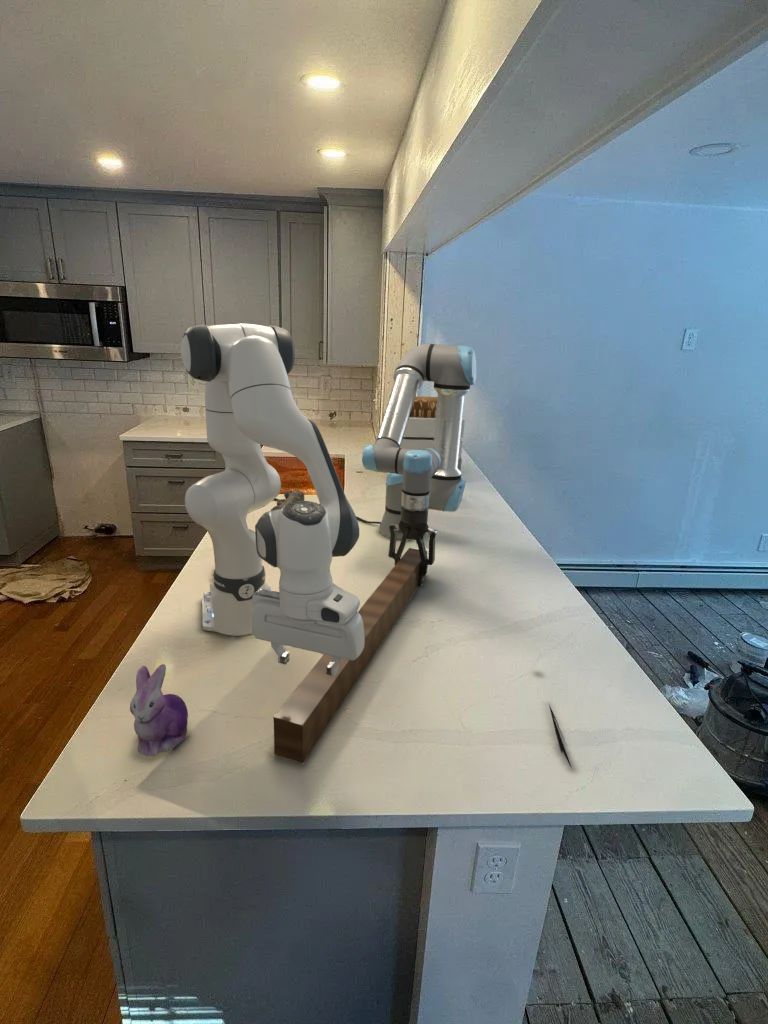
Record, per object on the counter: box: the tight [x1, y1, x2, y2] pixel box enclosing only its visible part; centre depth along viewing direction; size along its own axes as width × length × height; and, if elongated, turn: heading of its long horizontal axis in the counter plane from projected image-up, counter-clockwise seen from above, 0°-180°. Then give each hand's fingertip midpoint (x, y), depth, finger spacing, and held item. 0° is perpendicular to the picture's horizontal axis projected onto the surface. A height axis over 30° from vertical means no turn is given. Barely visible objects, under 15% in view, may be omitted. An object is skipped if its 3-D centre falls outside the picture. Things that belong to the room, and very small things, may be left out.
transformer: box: [400, 395, 465, 473], centre depth 268 cm, size 34×33×41 cm
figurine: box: [129, 663, 189, 757], centre depth 99 cm, size 9×10×15 cm
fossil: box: [270, 489, 305, 511], centre depth 209 cm, size 22×10×15 cm
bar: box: [272, 547, 428, 764], centre depth 133 cm, size 80×6×8 cm, turn 161°
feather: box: [548, 702, 572, 767], centre depth 112 cm, size 2×28×2 cm
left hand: (307, 667), depth 100 cm, fingers open, 8 cm apart
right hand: (409, 582), depth 164 cm, fingers closed on bar, 6 cm apart
